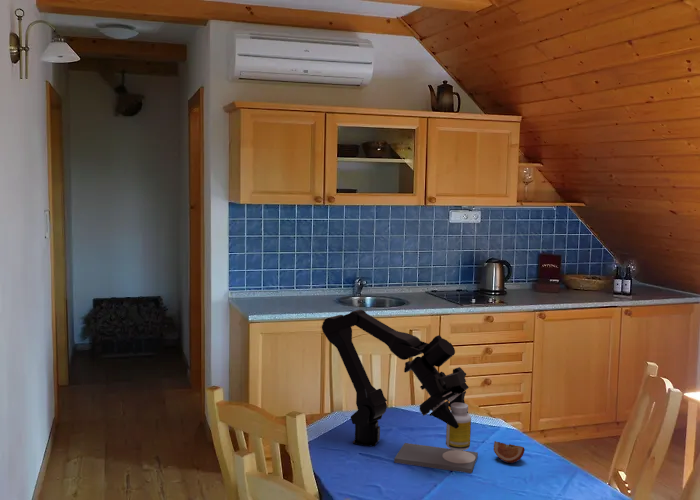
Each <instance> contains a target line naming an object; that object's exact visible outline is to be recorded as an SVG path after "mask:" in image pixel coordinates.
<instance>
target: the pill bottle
mask: <svg viewBox="0 0 700 500" xmlns="http://www.w3.org/2000/svg"><path fill="white" fill-rule="evenodd" d="M449 409H450V411H451V413H452V414H453V416H454V418H455V419H456V421H457V423H458V425H459V427H458V428H457V429H456V428H454V427H452V426H450V425H449V424H447V423H446V435H445V446H446V447H447V448H448V449H453V450H459V451H461V450H463V451H467V450H468V449H469V448H470V446H471V433H472V432H471V431H472V430H471V428H472V426H471V425H472V416H471V415H470V413H469V404H467V403H466V402H465V403H460V402H455V403H452V404H451V407H449ZM467 411H468V413H467Z"/></svg>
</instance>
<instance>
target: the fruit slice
mask: <svg viewBox="0 0 700 500" xmlns="http://www.w3.org/2000/svg"><path fill="white" fill-rule="evenodd" d="M493 452H494V454H495V455H496V456H497V457H498V459H500V460H501V461H502V462H504V463H509V464H513V463H517V462H518V461H520V460H521V459H522V457H523V456H524V453H525V447H524V446H521V445H515V444H510V443H509V444H507V443H503V442H501V441H496V440H495V441H494V442H493Z"/></svg>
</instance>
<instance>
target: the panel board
mask: <svg viewBox="0 0 700 500" xmlns="http://www.w3.org/2000/svg"><path fill="white" fill-rule="evenodd" d="M478 454H479V452H478V451H477V452H476V451H472V450H471V451H469V450H461V451H459V450H453V449H450V448H448V447H447V448H446V447H439V446H431V445H424V444H416V443H408V442H404V443H403V445H402V446H401V448H400V449H399V451H398V452H397V454H396V455H395V457H394V458H393V459H394V461H393V462H394V463H395V464H403V465H408V466H409V465H411V466H415V467H416V466H418V467H424V468H430V469H431V468H432V469H439V470H444V471H452V472H459V473H460V472H461V473H469V474H472V473H473V470H474V468H475V465H476V462H477V460H478V457H479V455H478Z"/></svg>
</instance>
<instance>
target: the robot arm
mask: <svg viewBox="0 0 700 500" xmlns="http://www.w3.org/2000/svg"><path fill="white" fill-rule="evenodd" d="M354 326H356V327H357V328H359V329H361V330H362V331H364V332H366V333H367V334H369V335H370V336H372V337H374V338H376V339H377V340H378V341H380V342H382V343H383V344H385V345H386V346H387V347H388V349H389V350H390V352H391V353H392V354H393V355H394V356H396V357H397V358H398V359H400V360H402V361H405V360H408V361H406V362H405V363H404V369H403V372H404V373H408V372H411V371H412V373H413V374H414V375H415V377H416V379H417V380H418V381H419V382H420V384H421V386H419V388H420V389H421V391H423V390H425V391H426V392H427V394H428V395H429V397H428V398H427V399H425V401H423V402H422V403H421V404H419V411H420V413H421V414H422V415H423V417H424V416H427V415H429V416H430V417H431V416H432V417H434V418H436V419H438V420H440V421H442V422H444V423H445V424H446V425H447V424H449V425H450V426H452V427H454V428H456V429H457V428H458V427H459V425H458V423H457V421H456V419H455V418H454V416H453V414H452V413H451V409H450V407H451V404H452V403H455V402H460V403H465V404H466V402H465V395H466V394H467V389H469V388H470V387H469V385H468V384H467V380H466V376H467V373H466V372H465V371H464V369H463V368H462V367H460V366H458V367H455V368H453V369H452V373H449V374H446V373H445V372H443V371H438V369H437V368H440V367H441V366H443V365H444V364H445V363H446V362H447V361H448V360H450V359H451V358H452V357H454V356H455V354H456V350H455V347H454V345H453V344H452V343H451V342H450V341H448V340H447V339H445V338H444V337H442V336H441V335H440V334H438V335H436V336H434V337H433V338H432V340H430V342H429V343H427V342H425V341H422V340H421V339H420V338H419V337H417V336H416V335H413V334H410V333H407V332H403V331H398V330H396V329H394V328H392V327H391V326H389V325H387V324H386V323H384V322H382V321H381V320H379V319H377V318H376V317H374V316H372V315H370V314H368V313H367V312H366V311H365V310H363V309H356V310H352V311H351V312H350V313H347V314H345V315H343V314H337V315H334V316H330V317H326V318H325V319H324V320H323V322H322V325H321V330H322V333H323V334H324V336H325V338H326V339H327V341H328V342H330V343H331V344H332V345H333V346H334V347H335V348H336V350H337V351H338V354H339V356H340V358H341V361H342V363H343V365H344V368H345V369H346V372H347V375H348V376H349V379H350V381H351V383H352V385H353V388H354V389H355V393H356V398H355V405H356V408H357V410H356V411H355V412H354V413H353V414H351V416H350V419H351V423H352V424H353V425H354V428H355V429H354V440H353V441H352V444H354V445H359V446H365V447H366V446H367V447H375V446H376V445H377V444H378V442H379V441H380V440H381V426H380V425H379V420H381V419H382V417H383V415H384V414H385V413H386V412H387V408H388V405H387V404H388V403H387V401H388V400H387V399H386V396H385V395H384V392H383V389H382V388H377V389H376V388H375V387H374V386H373V385H372V383H371V380H370V378H369V377H368V373H367V371H366V369H365V367H364V366H363V363H362V360H361V358H360V356H359V354H358V351H357V350H356V347H355V345H354V343H353V340H352V339H353V327H354ZM422 354H423V355H422ZM419 355H421V356H419ZM413 357H415V358H413ZM411 358H412V360H411V361H410V360H409V359H411ZM436 367H437V368H436ZM431 411H432V412H431ZM467 413H468V414H469V410H468V411H467Z"/></svg>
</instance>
